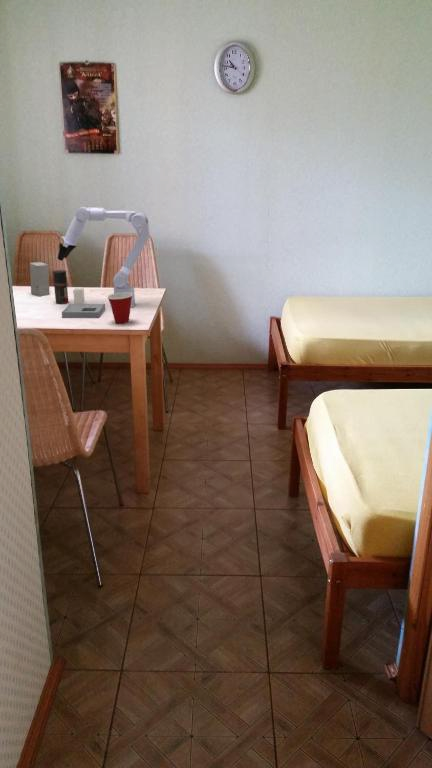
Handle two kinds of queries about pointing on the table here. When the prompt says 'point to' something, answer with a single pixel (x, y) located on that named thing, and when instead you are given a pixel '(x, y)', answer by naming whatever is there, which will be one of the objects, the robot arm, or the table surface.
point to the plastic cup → (120, 306)
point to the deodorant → (60, 287)
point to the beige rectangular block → (79, 296)
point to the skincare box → (39, 279)
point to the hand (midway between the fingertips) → (61, 258)
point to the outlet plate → (83, 311)
